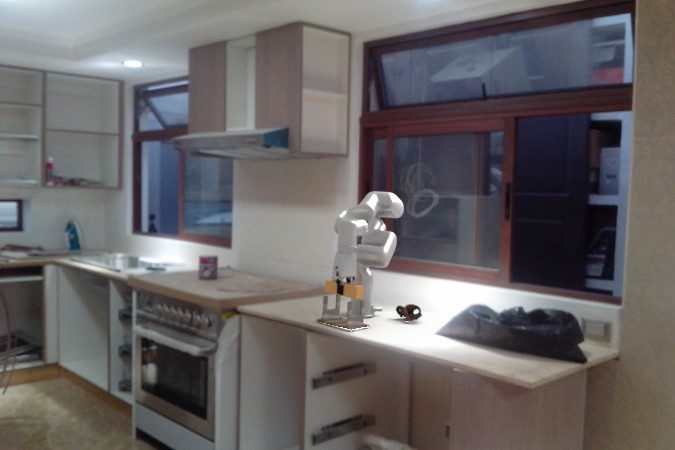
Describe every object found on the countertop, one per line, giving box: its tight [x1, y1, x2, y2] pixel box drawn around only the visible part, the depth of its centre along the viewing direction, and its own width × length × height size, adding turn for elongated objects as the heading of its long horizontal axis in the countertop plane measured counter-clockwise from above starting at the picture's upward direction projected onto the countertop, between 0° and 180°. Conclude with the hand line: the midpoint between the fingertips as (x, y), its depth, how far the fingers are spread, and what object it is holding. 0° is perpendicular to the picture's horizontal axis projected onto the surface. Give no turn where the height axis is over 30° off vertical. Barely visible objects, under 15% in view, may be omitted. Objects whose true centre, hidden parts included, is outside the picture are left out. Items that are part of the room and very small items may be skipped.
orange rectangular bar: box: [324, 278, 364, 299], centre depth 263 cm, size 18×4×5 cm, turn 45°
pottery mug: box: [395, 303, 423, 322], centre depth 278 cm, size 12×10×8 cm
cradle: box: [316, 294, 370, 330], centre depth 264 cm, size 20×11×11 cm, turn 45°
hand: (343, 293), depth 263 cm, fingers closed on orange rectangular bar, 4 cm apart
